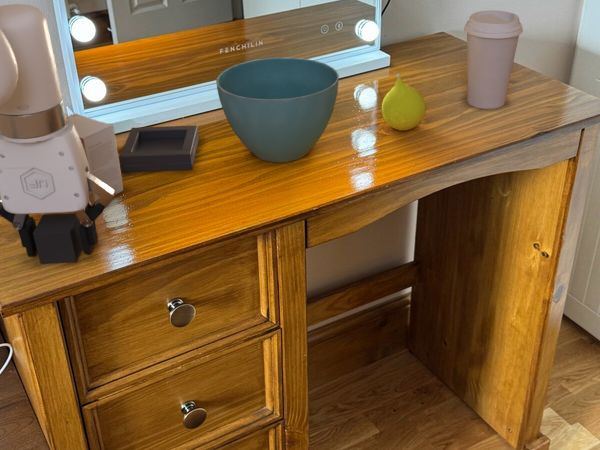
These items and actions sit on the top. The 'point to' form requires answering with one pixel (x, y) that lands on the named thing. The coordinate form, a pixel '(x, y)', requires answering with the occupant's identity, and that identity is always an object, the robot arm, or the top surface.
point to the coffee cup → (490, 56)
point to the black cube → (58, 238)
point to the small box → (99, 151)
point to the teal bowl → (278, 104)
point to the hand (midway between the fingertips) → (62, 248)
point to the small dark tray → (160, 149)
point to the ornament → (403, 106)
